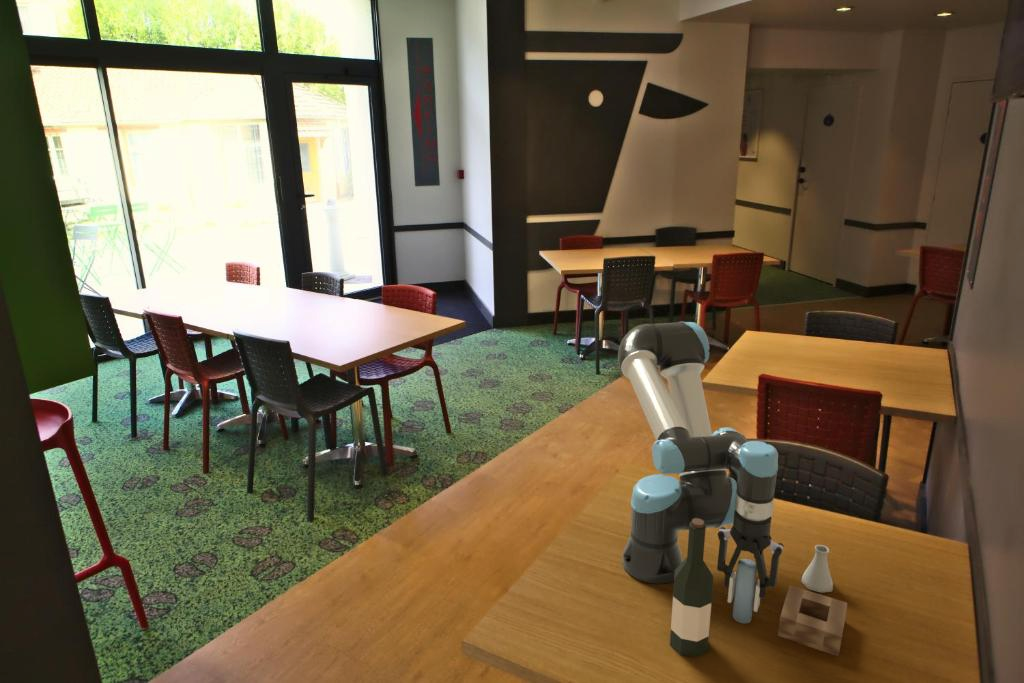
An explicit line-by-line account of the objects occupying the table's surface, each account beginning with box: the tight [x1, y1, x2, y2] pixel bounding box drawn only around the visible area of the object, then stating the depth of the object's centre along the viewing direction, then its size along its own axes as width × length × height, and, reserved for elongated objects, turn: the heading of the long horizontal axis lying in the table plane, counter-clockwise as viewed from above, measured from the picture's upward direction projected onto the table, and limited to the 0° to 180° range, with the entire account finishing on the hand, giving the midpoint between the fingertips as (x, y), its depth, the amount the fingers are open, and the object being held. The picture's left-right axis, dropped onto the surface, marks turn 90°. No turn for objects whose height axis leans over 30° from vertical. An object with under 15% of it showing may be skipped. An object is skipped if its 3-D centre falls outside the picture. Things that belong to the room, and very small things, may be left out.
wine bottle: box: [669, 518, 714, 659], centre depth 135 cm, size 8×8×30 cm
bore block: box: [777, 585, 848, 657], centre depth 142 cm, size 12×12×5 cm
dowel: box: [732, 558, 758, 624], centre depth 145 cm, size 4×4×14 cm
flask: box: [801, 544, 834, 594], centre depth 156 cm, size 7×7×10 cm
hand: (743, 603), depth 145 cm, fingers open, 5 cm apart
